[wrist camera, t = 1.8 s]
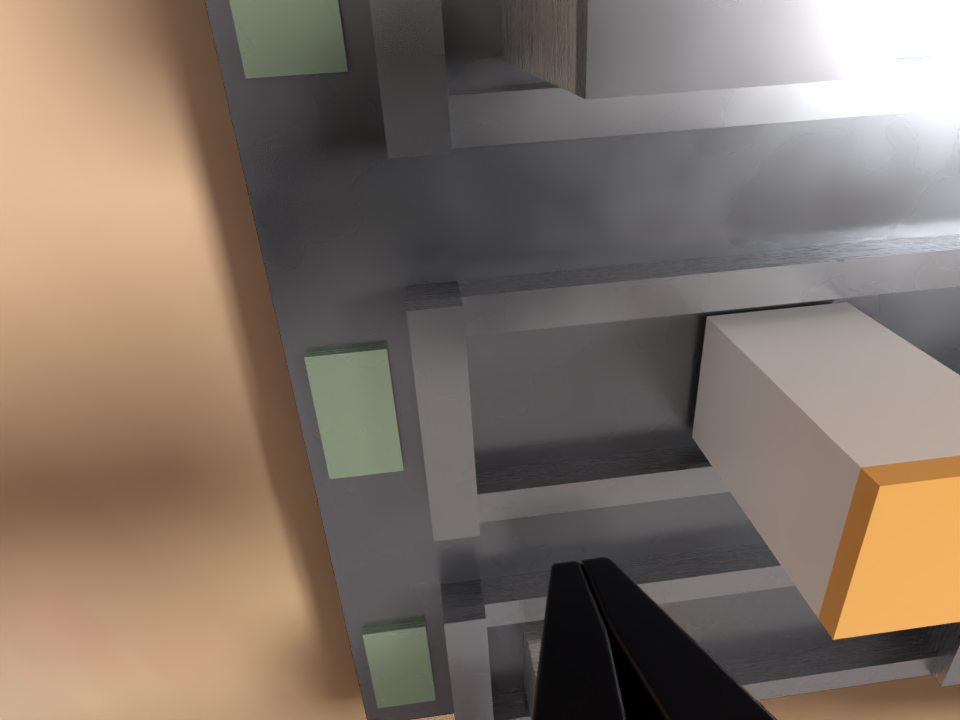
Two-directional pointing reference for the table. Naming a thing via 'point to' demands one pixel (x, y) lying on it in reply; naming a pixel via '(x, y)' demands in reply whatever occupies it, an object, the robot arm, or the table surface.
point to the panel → (577, 299)
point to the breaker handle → (839, 460)
